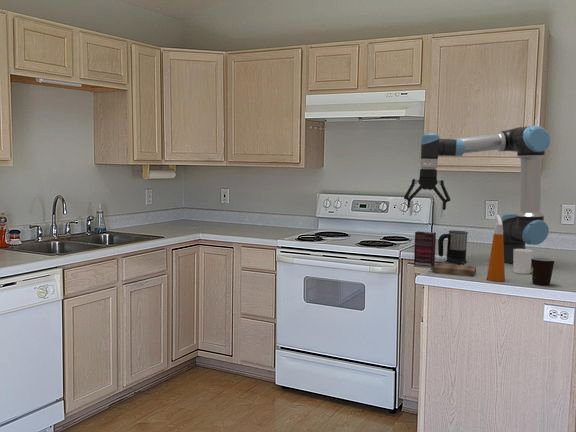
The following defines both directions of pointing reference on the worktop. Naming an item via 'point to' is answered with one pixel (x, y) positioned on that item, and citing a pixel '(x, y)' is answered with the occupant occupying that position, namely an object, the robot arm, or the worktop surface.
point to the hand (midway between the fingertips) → (426, 216)
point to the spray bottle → (497, 254)
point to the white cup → (522, 260)
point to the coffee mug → (542, 270)
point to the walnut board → (454, 269)
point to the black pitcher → (454, 246)
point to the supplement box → (424, 249)
